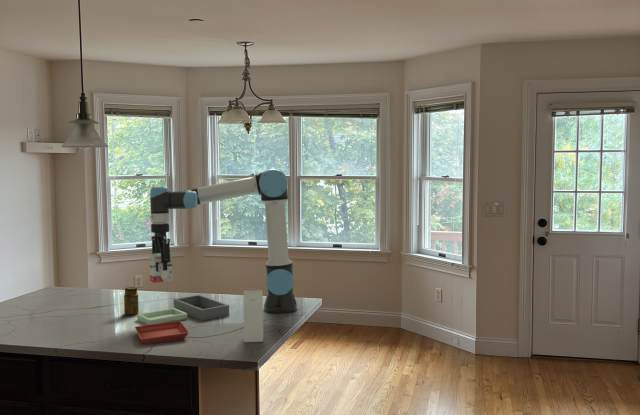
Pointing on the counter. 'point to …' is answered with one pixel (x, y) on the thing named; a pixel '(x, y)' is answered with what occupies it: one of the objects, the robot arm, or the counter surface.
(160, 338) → the plant saucer
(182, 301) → the tray
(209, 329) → the counter surface
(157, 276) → the ink box
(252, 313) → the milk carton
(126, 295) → the condiment
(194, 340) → the counter surface
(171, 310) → the tray
